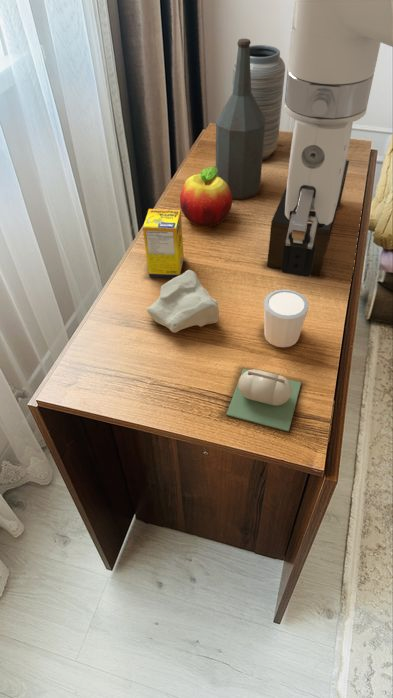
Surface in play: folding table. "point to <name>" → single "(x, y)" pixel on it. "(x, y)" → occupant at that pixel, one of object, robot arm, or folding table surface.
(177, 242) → the supplement box
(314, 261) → the long dark rectangular box
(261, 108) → the vase
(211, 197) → the fruit
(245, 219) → the folding table surface
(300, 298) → the white cup
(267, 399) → the cream rounded oblong block
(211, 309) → the decorative stone
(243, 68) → the bottle
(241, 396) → the mat
